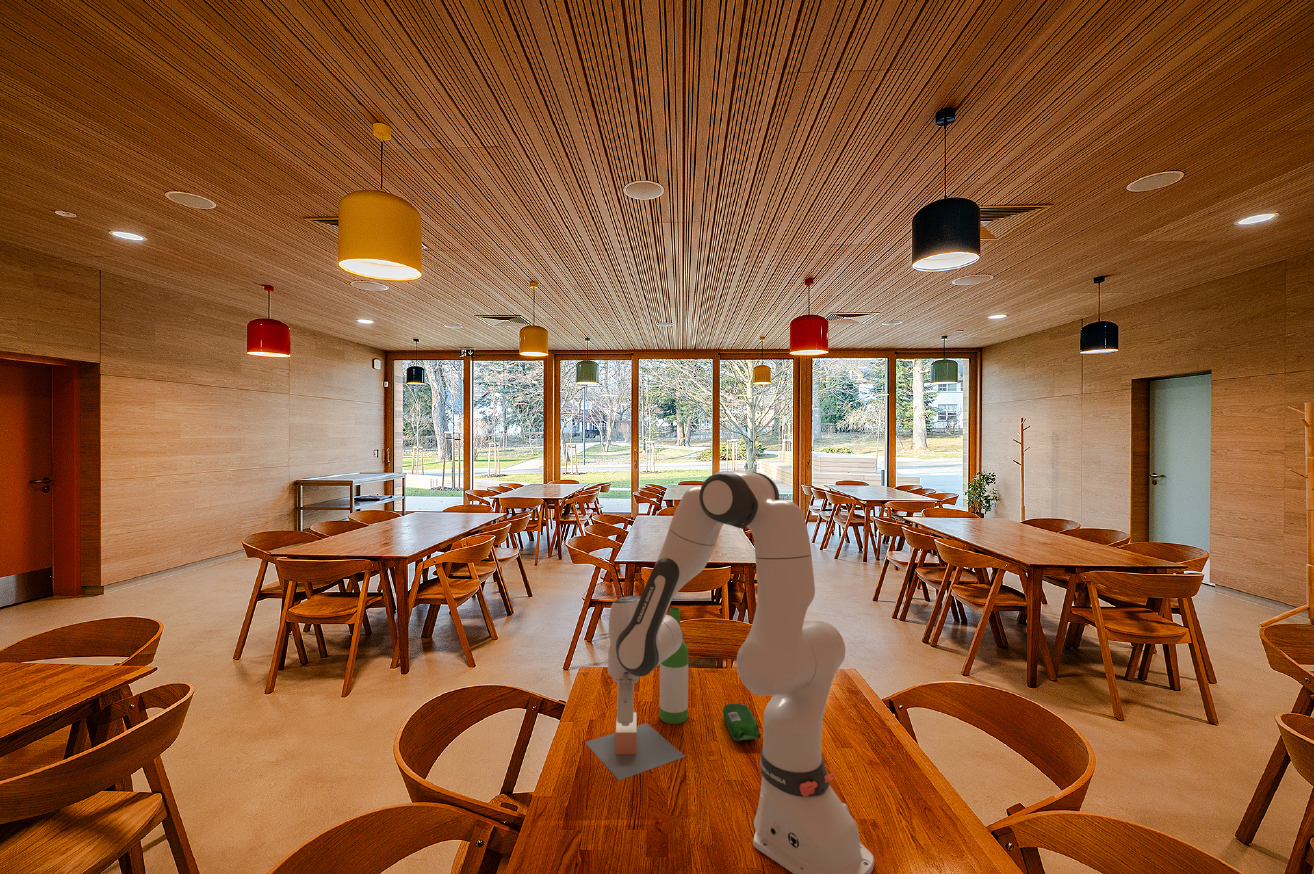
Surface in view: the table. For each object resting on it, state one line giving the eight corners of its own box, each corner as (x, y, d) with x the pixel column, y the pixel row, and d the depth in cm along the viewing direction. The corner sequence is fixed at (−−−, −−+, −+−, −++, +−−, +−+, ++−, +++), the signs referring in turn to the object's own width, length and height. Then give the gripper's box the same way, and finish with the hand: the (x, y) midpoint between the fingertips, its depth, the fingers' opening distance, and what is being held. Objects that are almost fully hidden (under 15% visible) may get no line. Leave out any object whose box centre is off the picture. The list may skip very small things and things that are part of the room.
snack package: (733, 749, 131) (734, 728, 132) (720, 717, 147) (720, 698, 147) (761, 749, 132) (762, 727, 132) (745, 717, 148) (745, 698, 148)
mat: (685, 758, 127) (685, 756, 127) (618, 783, 117) (618, 780, 117) (646, 725, 142) (646, 723, 142) (584, 744, 133) (584, 742, 133)
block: (636, 732, 128) (636, 712, 138) (615, 732, 128) (617, 712, 138) (636, 753, 128) (636, 731, 138) (615, 754, 127) (616, 731, 137)
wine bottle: (656, 724, 143) (657, 611, 143) (662, 710, 150) (664, 603, 151) (684, 728, 141) (686, 614, 142) (690, 714, 148) (691, 605, 149)
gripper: (639, 683, 117) (638, 747, 117) (639, 648, 138) (638, 702, 137) (611, 683, 117) (610, 747, 117) (614, 648, 137) (614, 702, 137)
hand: (625, 722), depth 127 cm, fingers closed
